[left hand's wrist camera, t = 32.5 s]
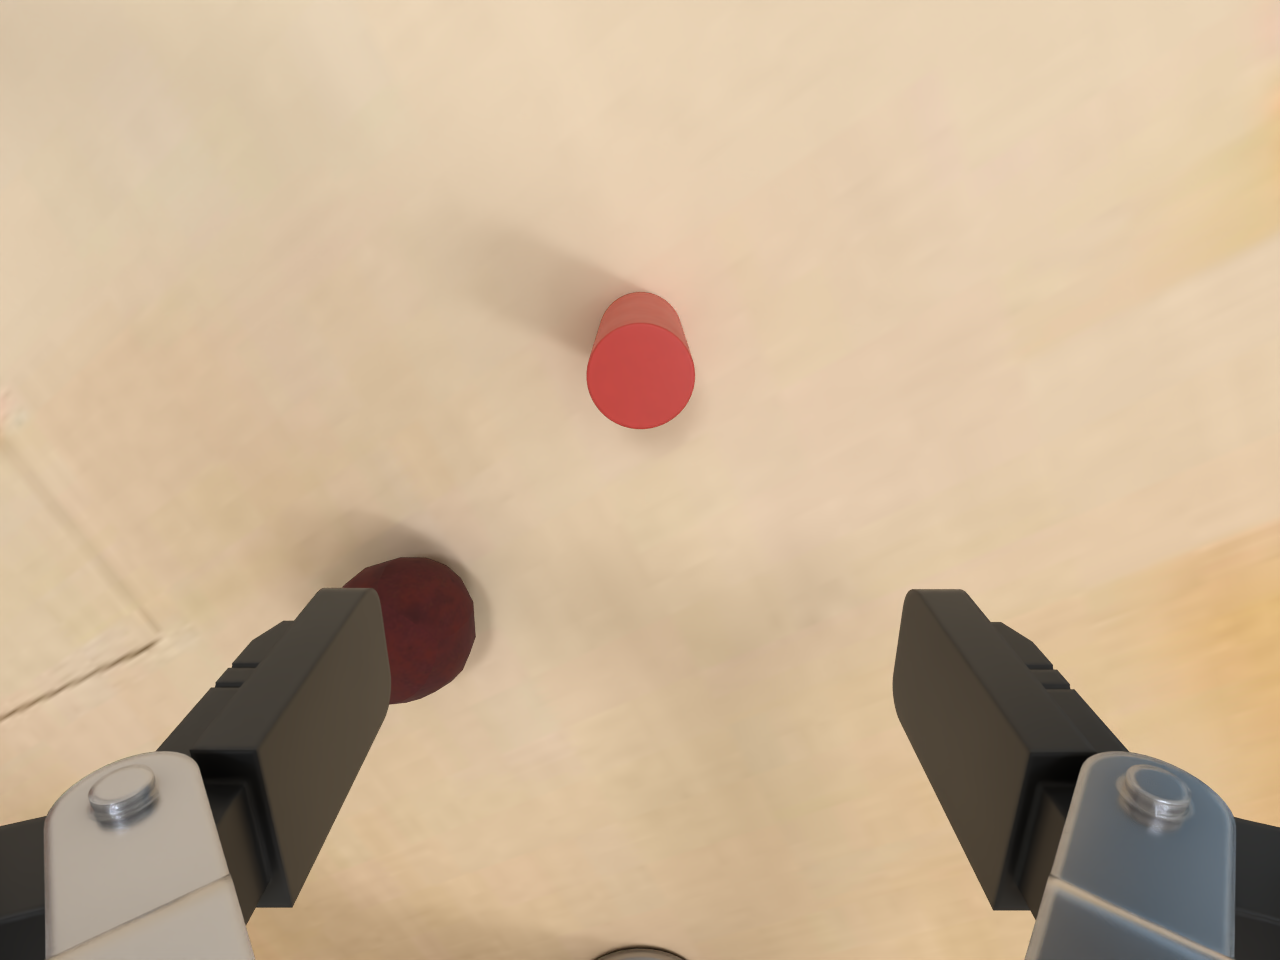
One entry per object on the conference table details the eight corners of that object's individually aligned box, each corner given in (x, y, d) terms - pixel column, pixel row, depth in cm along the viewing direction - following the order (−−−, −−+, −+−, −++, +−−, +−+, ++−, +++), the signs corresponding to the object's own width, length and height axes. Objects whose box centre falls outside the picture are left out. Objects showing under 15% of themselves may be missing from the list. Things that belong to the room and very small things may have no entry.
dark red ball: (328, 609, 41) (270, 687, 35) (399, 506, 39) (350, 569, 33) (441, 675, 43) (405, 762, 36) (515, 580, 41) (491, 654, 34)
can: (696, 316, 36) (714, 354, 27) (657, 389, 37) (663, 447, 29) (622, 276, 35) (616, 302, 27) (585, 352, 37) (568, 400, 28)
